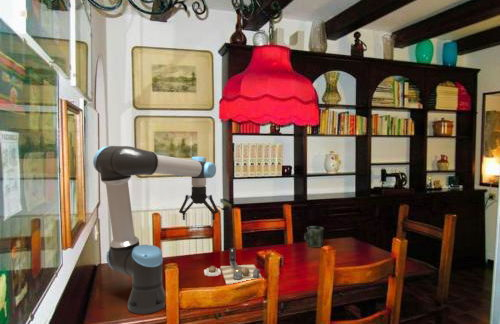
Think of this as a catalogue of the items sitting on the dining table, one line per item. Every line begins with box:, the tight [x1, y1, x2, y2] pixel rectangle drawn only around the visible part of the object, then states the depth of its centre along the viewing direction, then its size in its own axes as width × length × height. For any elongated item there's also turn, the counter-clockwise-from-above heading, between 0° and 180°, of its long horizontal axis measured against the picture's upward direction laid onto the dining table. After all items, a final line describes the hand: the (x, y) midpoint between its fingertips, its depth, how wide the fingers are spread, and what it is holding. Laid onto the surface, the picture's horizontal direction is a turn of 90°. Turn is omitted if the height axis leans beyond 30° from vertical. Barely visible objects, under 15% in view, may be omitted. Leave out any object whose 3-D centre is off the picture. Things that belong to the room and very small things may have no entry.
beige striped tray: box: [219, 264, 263, 285], centre depth 174 cm, size 23×18×5 cm
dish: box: [203, 267, 222, 277], centre depth 175 cm, size 8×8×2 cm
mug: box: [303, 225, 325, 248], centre depth 228 cm, size 11×15×12 cm
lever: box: [229, 247, 242, 276], centre depth 174 cm, size 20×5×10 cm, turn 12°
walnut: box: [242, 268, 249, 276], centre depth 171 cm, size 4×4×4 cm
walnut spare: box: [208, 265, 217, 273], centre depth 175 cm, size 4×4×4 cm
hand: (198, 226), depth 183 cm, fingers open, 13 cm apart
